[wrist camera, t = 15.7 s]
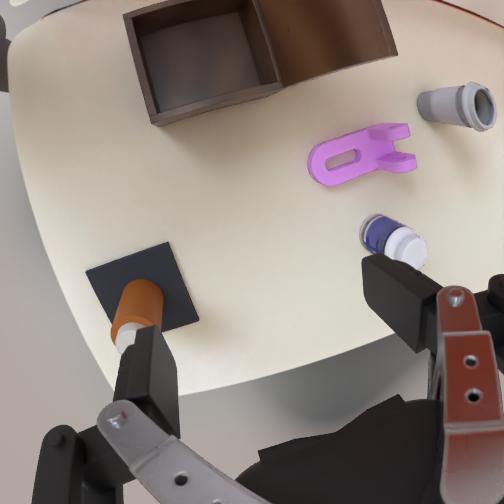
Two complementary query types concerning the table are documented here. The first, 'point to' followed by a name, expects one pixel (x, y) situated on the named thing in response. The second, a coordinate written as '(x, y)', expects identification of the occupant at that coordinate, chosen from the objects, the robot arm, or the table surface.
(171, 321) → the mat
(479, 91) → the cup
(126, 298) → the bottle
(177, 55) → the chest
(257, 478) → the robot arm
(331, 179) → the bracket
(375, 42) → the lid
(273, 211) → the table surface
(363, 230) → the pill bottle
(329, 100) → the table surface
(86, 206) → the table surface
